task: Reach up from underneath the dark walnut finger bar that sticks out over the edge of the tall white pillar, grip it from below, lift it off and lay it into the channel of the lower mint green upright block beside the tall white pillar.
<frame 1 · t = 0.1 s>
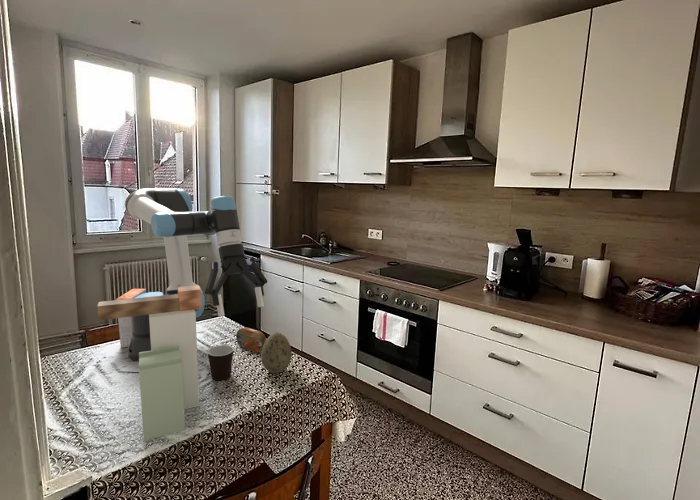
hand: (242, 311, 119), 28 cm above the table, tool tilted 20°, fingers open, 13 cm apart
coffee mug: (223, 375, 135), on the table
mint green upright block: (163, 425, 106), on the table
decorative egg: (276, 372, 138), on the table
tin: (251, 349, 156), on the table
cracker box: (135, 341, 159), on the table
tall white pillar: (176, 401, 118), on the table
finger bar: (152, 311, 110), point 30 cm above the table, touching tall white pillar
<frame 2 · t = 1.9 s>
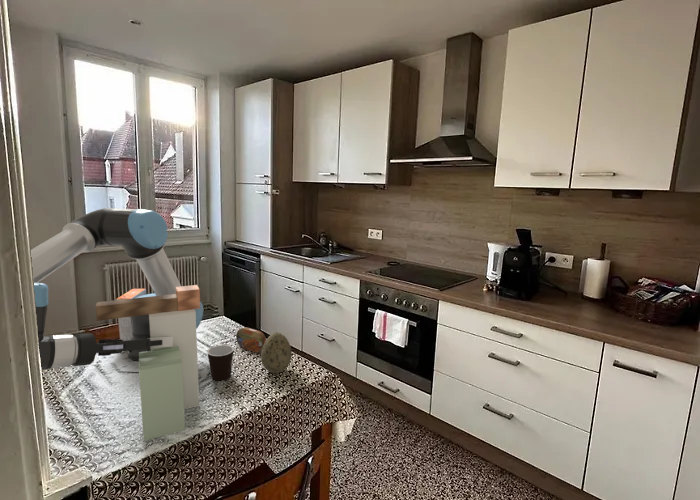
hand: (171, 341, 108), 23 cm above the table, tool horizontal, fingers closed
nothing on the table moved.
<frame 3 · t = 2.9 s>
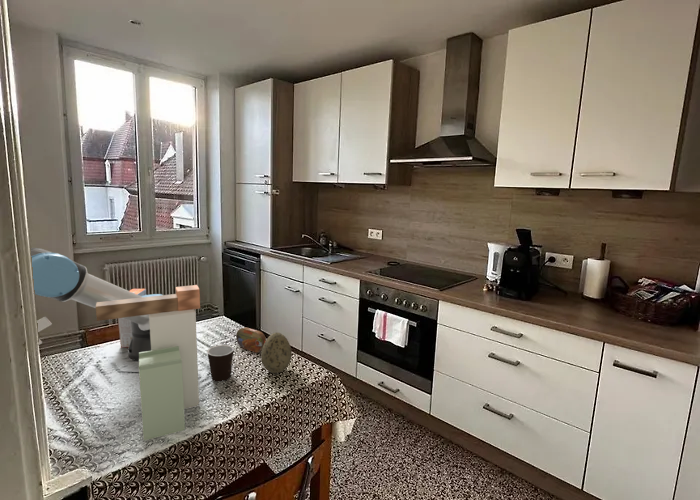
hand: (43, 328, 98), 29 cm above the table, tool pointing upward, fingers open, 13 cm apart
nothing on the table moved.
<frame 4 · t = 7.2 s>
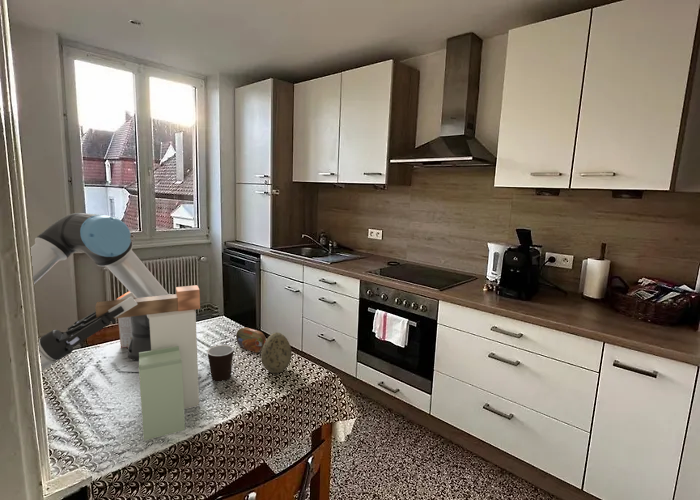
hand: (134, 298, 107), 35 cm above the table, tool pointing upward, fingers closed on finger bar, 4 cm apart
finger bar: (151, 311, 110), point 30 cm above the table, touching gripper, tall white pillar
everything else where it was.
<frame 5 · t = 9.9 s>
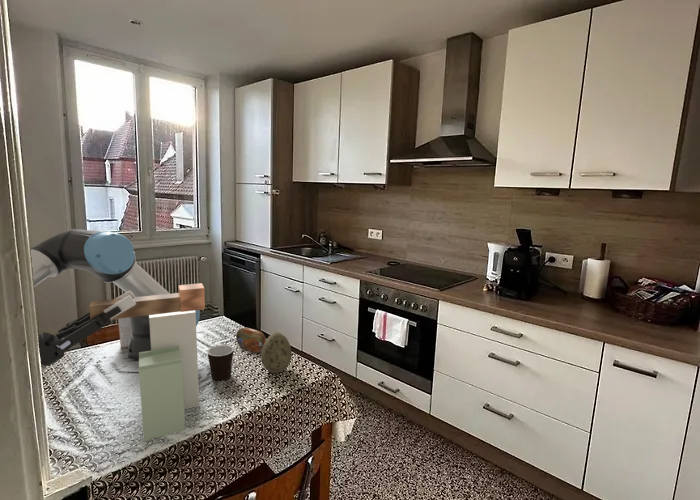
hand: (132, 297, 97), 38 cm above the table, tool pointing upward, fingers closed on finger bar, 4 cm apart
finger bar: (151, 312, 100), point 34 cm above the table, touching gripper
everything else where it was.
when the fingers open (26 cm above the table, at t = 12.8 s): finger bar drops 1 cm, resting on mint green upright block.
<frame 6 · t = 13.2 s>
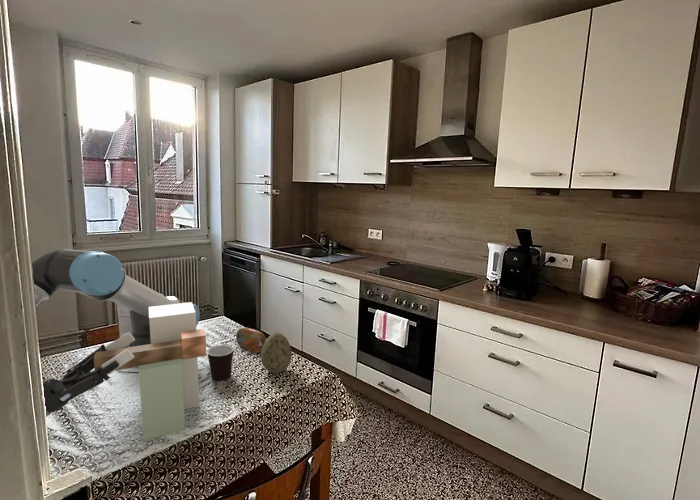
hand: (131, 344, 99), 26 cm above the table, tool pointing upward, fingers open, 10 cm apart
finger bar: (153, 360, 102), point 20 cm above the table, touching mint green upright block
everything else where it was.
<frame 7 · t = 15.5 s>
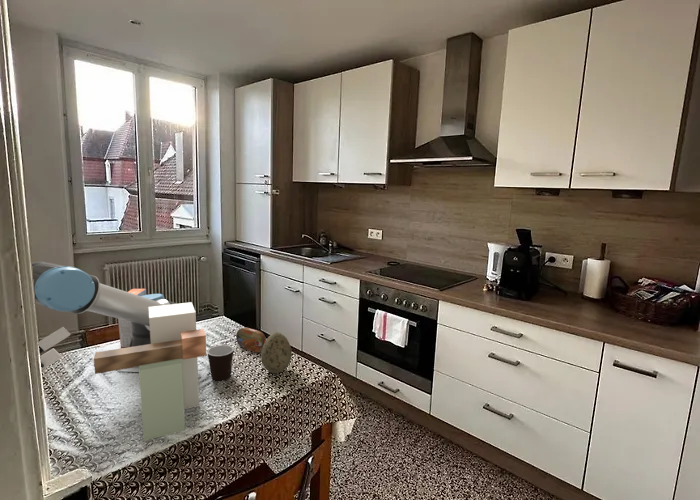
hand: (62, 341, 92), 29 cm above the table, tool pointing upward, fingers open, 13 cm apart
nothing on the table moved.
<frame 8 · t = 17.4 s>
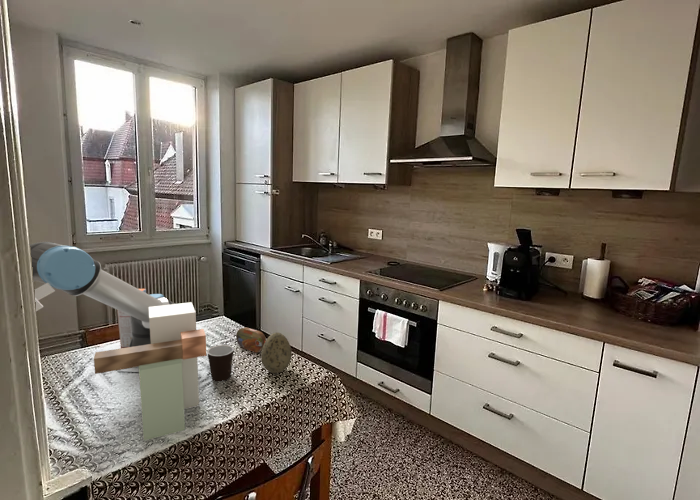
hand: (45, 294, 92), 40 cm above the table, tool pointing upward, fingers open, 13 cm apart
nothing on the table moved.
at the end: finger bar inside the target area on the mint green upright block (0.6 cm from its centre), point 20.0 cm above the mint green upright block's base; finger bar touching mint green upright block; the gripper is holding nothing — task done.
